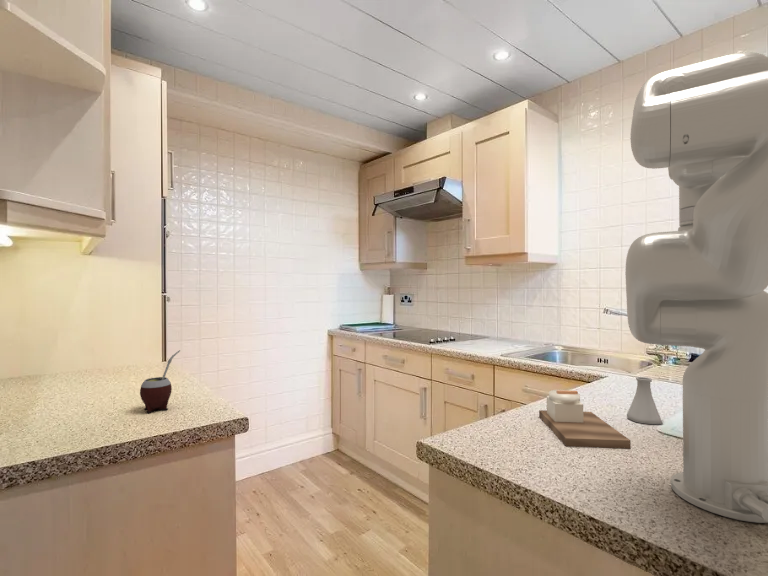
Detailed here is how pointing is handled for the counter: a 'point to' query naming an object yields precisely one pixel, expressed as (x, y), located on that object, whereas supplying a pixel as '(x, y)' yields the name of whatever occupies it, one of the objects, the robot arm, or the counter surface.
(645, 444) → the counter surface
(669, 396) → the counter surface
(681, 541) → the counter surface
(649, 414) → the flask
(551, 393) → the knob
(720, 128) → the robot arm
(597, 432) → the hub board
